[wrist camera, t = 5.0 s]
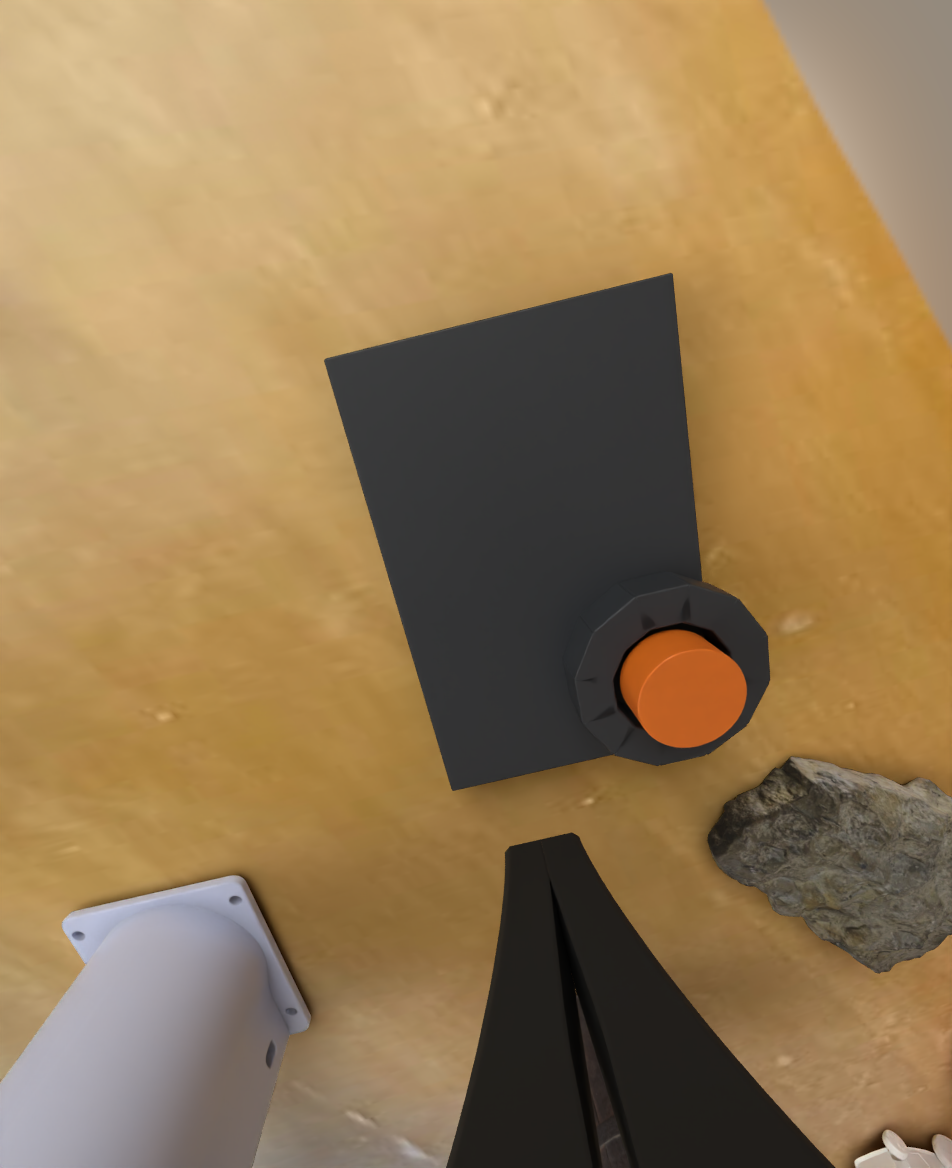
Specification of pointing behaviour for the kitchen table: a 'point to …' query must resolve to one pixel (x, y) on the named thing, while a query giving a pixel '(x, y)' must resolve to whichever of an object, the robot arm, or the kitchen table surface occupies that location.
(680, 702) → the button
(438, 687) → the grey push button box
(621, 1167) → the butter churn
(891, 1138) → the toy car
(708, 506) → the kitchen table surface
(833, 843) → the stone
